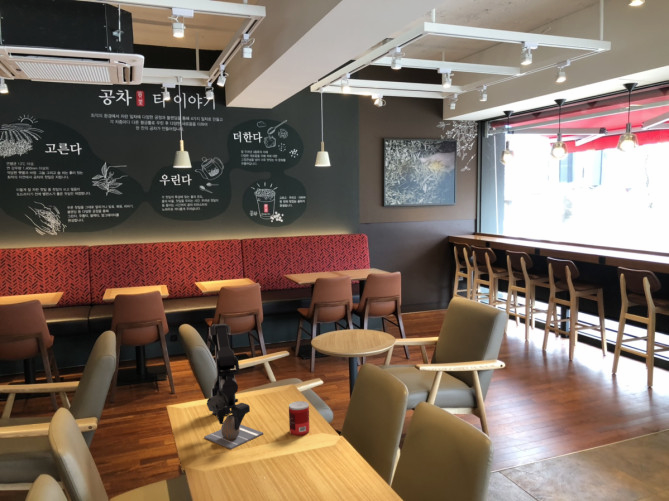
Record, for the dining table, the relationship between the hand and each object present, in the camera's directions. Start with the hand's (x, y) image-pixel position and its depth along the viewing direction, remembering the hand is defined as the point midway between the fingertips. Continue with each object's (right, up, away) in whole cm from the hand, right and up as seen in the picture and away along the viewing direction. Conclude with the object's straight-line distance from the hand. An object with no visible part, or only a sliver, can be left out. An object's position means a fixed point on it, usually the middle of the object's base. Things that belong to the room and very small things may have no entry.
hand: (229, 426), depth 200 cm
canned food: (+27, -4, +6) cm, 28 cm away
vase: (+1, -5, 0) cm, 5 cm away
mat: (+1, -5, +3) cm, 6 cm away
